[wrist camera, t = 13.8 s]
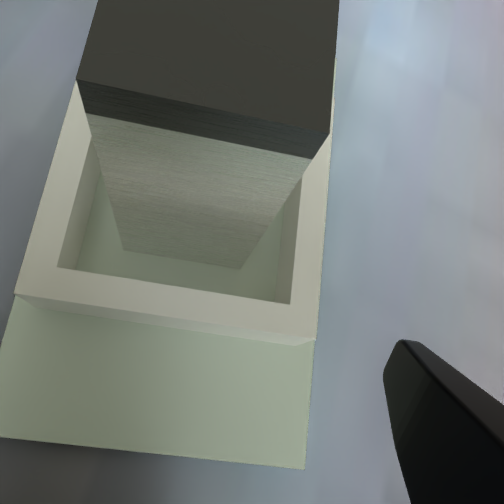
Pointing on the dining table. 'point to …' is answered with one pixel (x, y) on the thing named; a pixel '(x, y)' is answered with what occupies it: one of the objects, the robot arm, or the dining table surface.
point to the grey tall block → (206, 116)
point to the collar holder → (162, 327)
